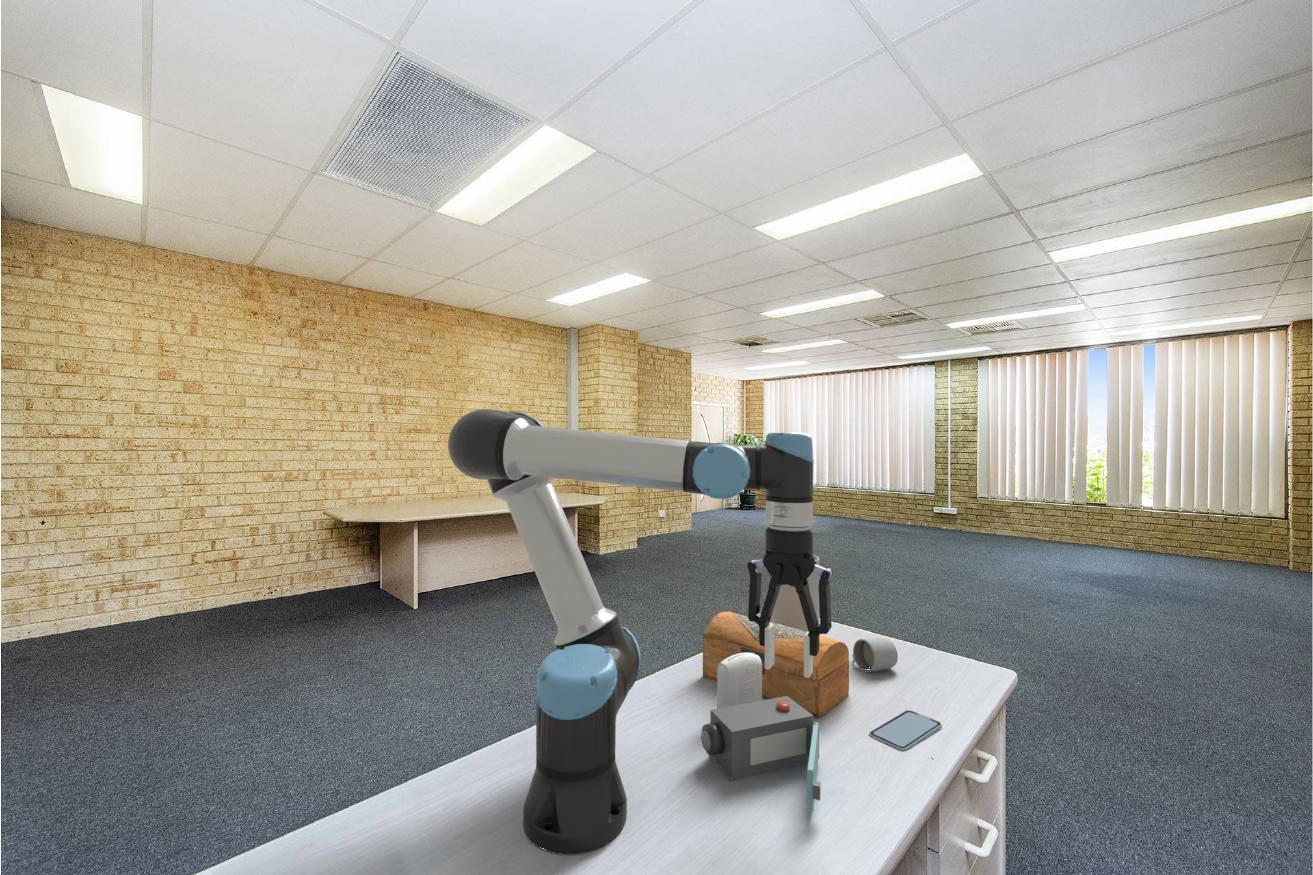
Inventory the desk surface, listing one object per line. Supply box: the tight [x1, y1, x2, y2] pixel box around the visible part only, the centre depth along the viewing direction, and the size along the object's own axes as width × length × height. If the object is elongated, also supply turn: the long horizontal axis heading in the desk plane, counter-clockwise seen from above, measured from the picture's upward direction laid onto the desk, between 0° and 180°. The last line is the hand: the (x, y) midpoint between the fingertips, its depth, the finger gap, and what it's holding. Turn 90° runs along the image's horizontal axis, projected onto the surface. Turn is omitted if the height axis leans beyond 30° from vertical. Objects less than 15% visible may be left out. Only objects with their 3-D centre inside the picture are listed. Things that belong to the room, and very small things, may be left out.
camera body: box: [700, 696, 814, 782], centre depth 96 cm, size 19×8×9 cm, turn 110°
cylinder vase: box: [771, 554, 820, 632], centre depth 149 cm, size 12×12×25 cm
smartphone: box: [868, 709, 942, 752], centre depth 106 cm, size 7×1×15 cm
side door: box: [806, 721, 821, 812], centre depth 88 cm, size 15×2×6 cm, turn 160°
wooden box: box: [702, 610, 850, 719], centre depth 126 cm, size 30×16×14 cm, turn 46°
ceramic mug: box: [851, 637, 898, 673], centre depth 137 cm, size 11×8×8 cm
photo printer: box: [716, 653, 763, 709], centre depth 112 cm, size 10×4×12 cm, turn 123°
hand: (788, 669), depth 89 cm, fingers open, 6 cm apart
